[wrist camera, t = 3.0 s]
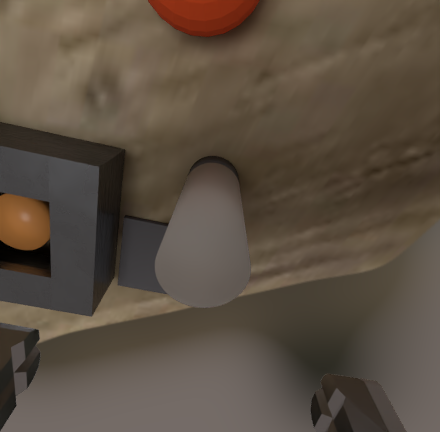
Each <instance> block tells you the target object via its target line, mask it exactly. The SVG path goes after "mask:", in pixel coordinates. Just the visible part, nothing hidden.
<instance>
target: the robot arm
mask: <svg viewBox="0 0 440 432" xmlns="http://www.w3.org/2000/svg"><path fill="white" fill-rule="evenodd" d="M39 339H40V337H39V330H37V329H33V328H27V327H22V326H16V325H11V324H5V323H0V431H1V429H2V428H3V426H4V424H5V423H6V421H7V420H8V418H9V417H10V415H11V413H12V412H13V410H14V409H15V407H16V396H17V395H18V394H20V393H21V392H23V391H24V390H26V389H27V388H28V387H29V385H30V383H31V382H32V380H33V378H34V376H35V374H36V371H37V369H38V366H39V362H40V350H39V349H38V348H37V347H36V346H35V345H36V344H37V342H38V341H39ZM320 382H321V385H322V388H321V389H319V390H317V391H316V392H315V393H314V395H313V397H312V400H311V418H312V422H313V426H314V429H315V430H316V431H317V432H406V430H405V428H404V426H403V424H402V423H401V421H400V419H399V417H398V415H397V413H396V412H395V410H394V408H393V406H392V405H391V402H390V401H389V399H388V397H387V395H386V393H385V391H384V390H383V388H382V386H381V385H380V384H379V383H378V382H377V381H373V380H366V379H359V378H354V377H347V376H341V375H334V374H326V375H324V376H323V378H322V380H321V381H320Z"/></svg>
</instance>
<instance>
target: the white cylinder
mask: <svg viewBox="0 0 440 432" xmlns="http://www.w3.org/2000/svg"><path fill="white" fill-rule="evenodd" d="M155 273H156V277H157V280H158V282H159V284H160V285H161V287H162V288H163V290H164V291H165V292H166V293H167V294H168V295H169V296H171V297H172V298H173V299H175V300H177V301H179V302H181V303H183V304H186V305H188V306H193V307H199V308H208V307H216V306H220V305H223V304H226V303H228V302H230V301H231V300H233V299H235V298H236V297H237V296H238V295H239V294H241V293H242V291H243V290H244V289H245V287H246V285H247V284H248V281H249V278H250V274H251V264H250V257H249V249H248V242H247V235H246V228H245V221H244V214H243V207H242V200H241V193H240V186H239V179H238V174H237V171H236V169H235V168H234V166H233V165H232V164H231V163H230V162H229V161H228V160H226V159H224V158H222V157H218V156H208V157H204V158H202V159H200V160H198V161H197V162H196V163H195V164H194V165H193V166H192V167H191V169H190V171H189V174H188V176H187V179H186V181H185V184H184V186H183V189H182V192H181V194H180V197H179V199H178V202H177V204H176V207H175V209H174V212H173V214H172V217H171V220H170V222H169V225H168V227H167V230H166V232H165V235H164V237H163V240H162V243H161V245H160V248H159V250H158V253H157V255H156V259H155Z"/></svg>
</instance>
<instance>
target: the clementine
mask: <svg viewBox="0 0 440 432" xmlns="http://www.w3.org/2000/svg"><path fill="white" fill-rule="evenodd" d="M259 1H260V0H148V2H149V3H150V4H151V6H152V7H153V8H154V9H155V11H156V12H157V13H158V15H159V16H160V17H161V18H162V19H163V20H165V21H166V22H167V23H168V24H170V25H171V26H172V27H174V28H175V29H177V30H179V31H182V32H184V33H187V34H189V35H193V36H203V37H210V36H214V35H219V34H224V33H226V32H228V31H229V30H231V29H233V28H235V27H237V26H238V25H240V24H241V23H242V22H243V21H244V20H245V19H246V18H247V17H248V16H249V15H250V14H251V13H252V12H253V10H254V9H255V7H256V6H257V4H258V2H259Z"/></svg>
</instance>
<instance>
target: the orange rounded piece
mask: <svg viewBox="0 0 440 432" xmlns="http://www.w3.org/2000/svg"><path fill="white" fill-rule="evenodd" d="M0 240H1V241H2V242H4V243H5V244H7V245H9V246H11V247H13V248H16V249H20V250H34V249H37V248H40V247H41V246H43V245H44V244H45V243H46V242H47V241H48V240H50V209H49V202H47V201H42V200H37V199H32V198H27V197H22V196H17V195H12V194H7V193H5V194H3V195H1V196H0Z"/></svg>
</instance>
